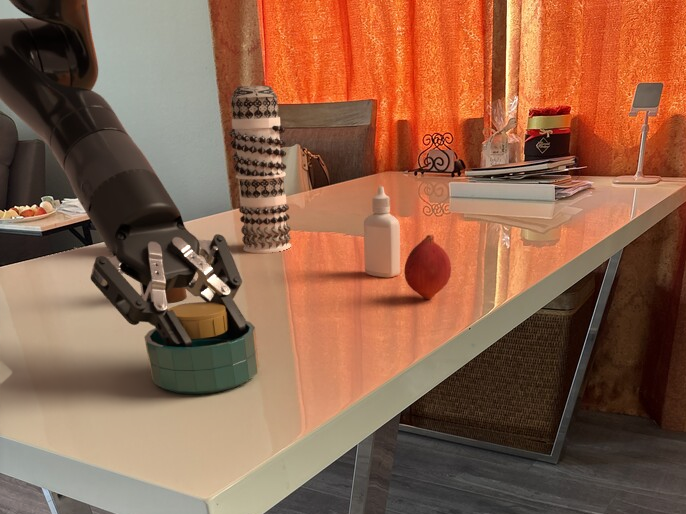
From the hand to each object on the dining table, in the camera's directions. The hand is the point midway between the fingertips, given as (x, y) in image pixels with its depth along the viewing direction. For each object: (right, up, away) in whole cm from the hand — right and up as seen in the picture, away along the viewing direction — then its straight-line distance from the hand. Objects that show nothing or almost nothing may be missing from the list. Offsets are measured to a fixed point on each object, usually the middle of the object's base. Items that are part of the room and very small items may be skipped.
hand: (213, 342), depth 65 cm
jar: (-12, +12, +31) cm, 35 cm away
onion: (+22, +10, +26) cm, 36 cm away
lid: (-2, +3, 0) cm, 3 cm away
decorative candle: (-3, +28, +60) cm, 67 cm away
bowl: (-1, -3, +3) cm, 4 cm away
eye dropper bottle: (+17, +17, +39) cm, 46 cm away
